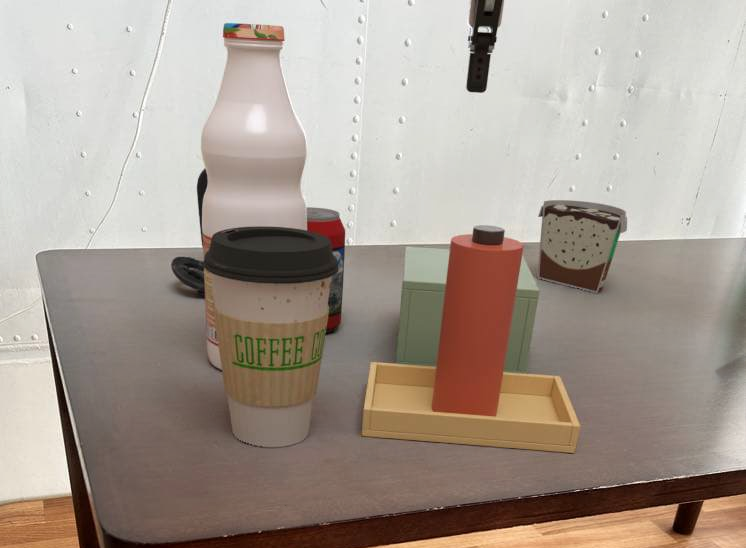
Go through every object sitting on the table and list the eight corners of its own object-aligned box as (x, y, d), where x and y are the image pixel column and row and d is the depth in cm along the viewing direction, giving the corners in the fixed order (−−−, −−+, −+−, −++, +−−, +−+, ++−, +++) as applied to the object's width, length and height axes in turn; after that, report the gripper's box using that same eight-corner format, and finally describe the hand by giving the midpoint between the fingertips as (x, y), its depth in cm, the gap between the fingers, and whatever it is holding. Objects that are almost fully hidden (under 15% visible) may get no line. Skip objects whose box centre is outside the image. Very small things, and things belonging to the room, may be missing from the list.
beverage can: (282, 337, 87) (284, 218, 80) (277, 318, 92) (277, 205, 86) (345, 337, 88) (351, 219, 81) (335, 318, 93) (340, 206, 87)
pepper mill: (494, 400, 73) (522, 223, 65) (498, 426, 68) (529, 238, 60) (431, 395, 73) (451, 218, 65) (431, 420, 68) (453, 233, 60)
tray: (555, 400, 75) (560, 376, 74) (574, 453, 66) (580, 425, 64) (369, 386, 76) (370, 361, 75) (361, 436, 66) (363, 408, 65)
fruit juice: (187, 363, 79) (169, 19, 64) (245, 339, 86) (241, 23, 71) (267, 385, 75) (267, 24, 60) (321, 358, 82) (334, 28, 67)
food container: (629, 288, 112) (647, 211, 106) (607, 296, 108) (625, 216, 102) (550, 270, 119) (564, 196, 113) (527, 276, 115) (540, 200, 109)
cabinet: (398, 324, 92) (405, 246, 88) (510, 333, 92) (523, 254, 87) (395, 369, 80) (403, 280, 76) (524, 379, 79) (539, 290, 75)
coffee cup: (289, 469, 61) (293, 261, 53) (184, 436, 65) (173, 239, 57) (352, 425, 68) (364, 237, 60) (254, 398, 72) (253, 219, 64)
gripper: (545, -114, 76) (515, 97, 85) (529, -94, 87) (504, 90, 96) (464, -118, 76) (443, 93, 85) (459, -98, 87) (440, 87, 97)
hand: (475, 91), depth 91 cm, fingers closed
